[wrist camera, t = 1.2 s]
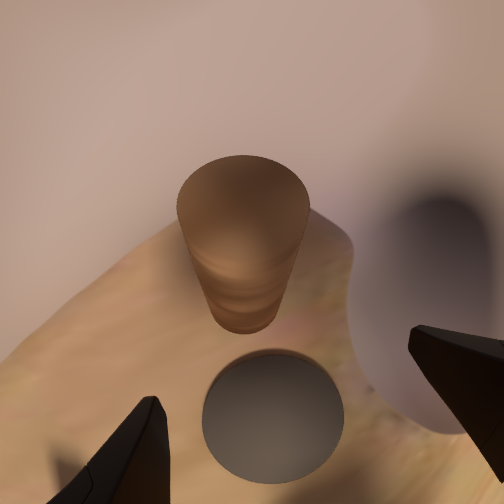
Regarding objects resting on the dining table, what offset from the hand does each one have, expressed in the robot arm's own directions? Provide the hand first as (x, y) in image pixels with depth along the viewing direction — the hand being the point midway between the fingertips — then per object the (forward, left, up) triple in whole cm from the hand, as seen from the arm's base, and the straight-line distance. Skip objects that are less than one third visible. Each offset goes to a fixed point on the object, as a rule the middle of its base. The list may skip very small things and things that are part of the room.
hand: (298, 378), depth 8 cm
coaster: (-2, +2, -13) cm, 14 cm away
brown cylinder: (+6, -5, -13) cm, 16 cm away
